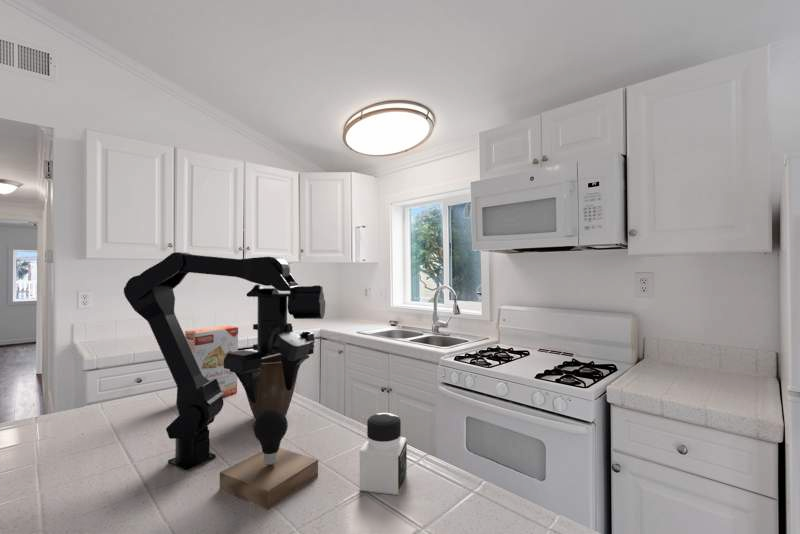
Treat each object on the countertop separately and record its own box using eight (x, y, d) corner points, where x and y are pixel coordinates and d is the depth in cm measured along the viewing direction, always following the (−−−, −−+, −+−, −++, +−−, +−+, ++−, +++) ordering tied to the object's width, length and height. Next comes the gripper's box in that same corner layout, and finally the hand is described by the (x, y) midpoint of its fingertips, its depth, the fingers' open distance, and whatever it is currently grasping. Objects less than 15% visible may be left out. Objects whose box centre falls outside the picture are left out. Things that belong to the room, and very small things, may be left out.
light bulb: (294, 463, 73) (294, 408, 73) (268, 477, 68) (268, 418, 68) (272, 455, 76) (273, 402, 76) (246, 467, 71) (246, 412, 71)
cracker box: (194, 406, 112) (194, 332, 112) (183, 402, 115) (183, 330, 115) (238, 393, 123) (238, 326, 124) (227, 390, 127) (227, 324, 127)
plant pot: (230, 417, 103) (230, 356, 103) (284, 404, 113) (284, 348, 114) (253, 435, 92) (253, 366, 92) (310, 418, 102) (310, 356, 102)
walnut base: (219, 489, 70) (219, 472, 70) (272, 460, 80) (272, 445, 80) (268, 509, 64) (268, 490, 64) (318, 475, 74) (318, 459, 74)
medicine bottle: (399, 496, 68) (399, 425, 68) (359, 491, 69) (359, 422, 69) (406, 474, 75) (406, 411, 75) (370, 471, 76) (370, 408, 76)
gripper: (264, 327, 68) (263, 418, 68) (333, 316, 84) (333, 389, 84) (221, 323, 74) (221, 407, 74) (294, 313, 90) (294, 382, 90)
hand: (272, 396), depth 80 cm, fingers open, 9 cm apart
